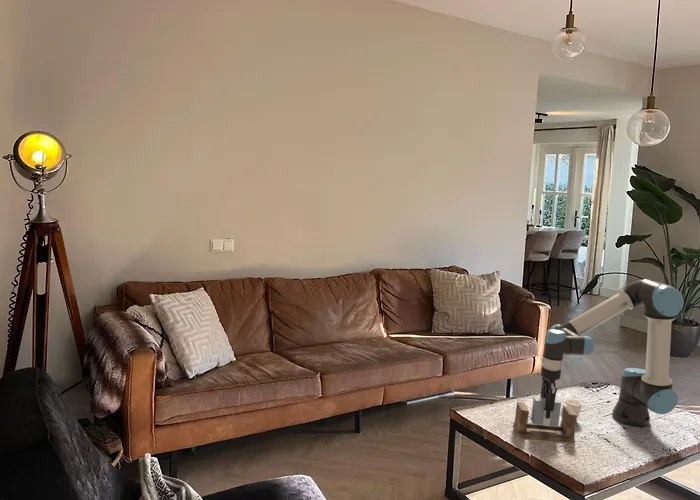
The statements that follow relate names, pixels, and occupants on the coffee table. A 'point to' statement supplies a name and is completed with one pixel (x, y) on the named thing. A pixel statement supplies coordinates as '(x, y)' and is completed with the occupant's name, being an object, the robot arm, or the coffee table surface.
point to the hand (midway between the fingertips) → (544, 422)
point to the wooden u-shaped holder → (545, 426)
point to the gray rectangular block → (539, 412)
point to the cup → (573, 406)
